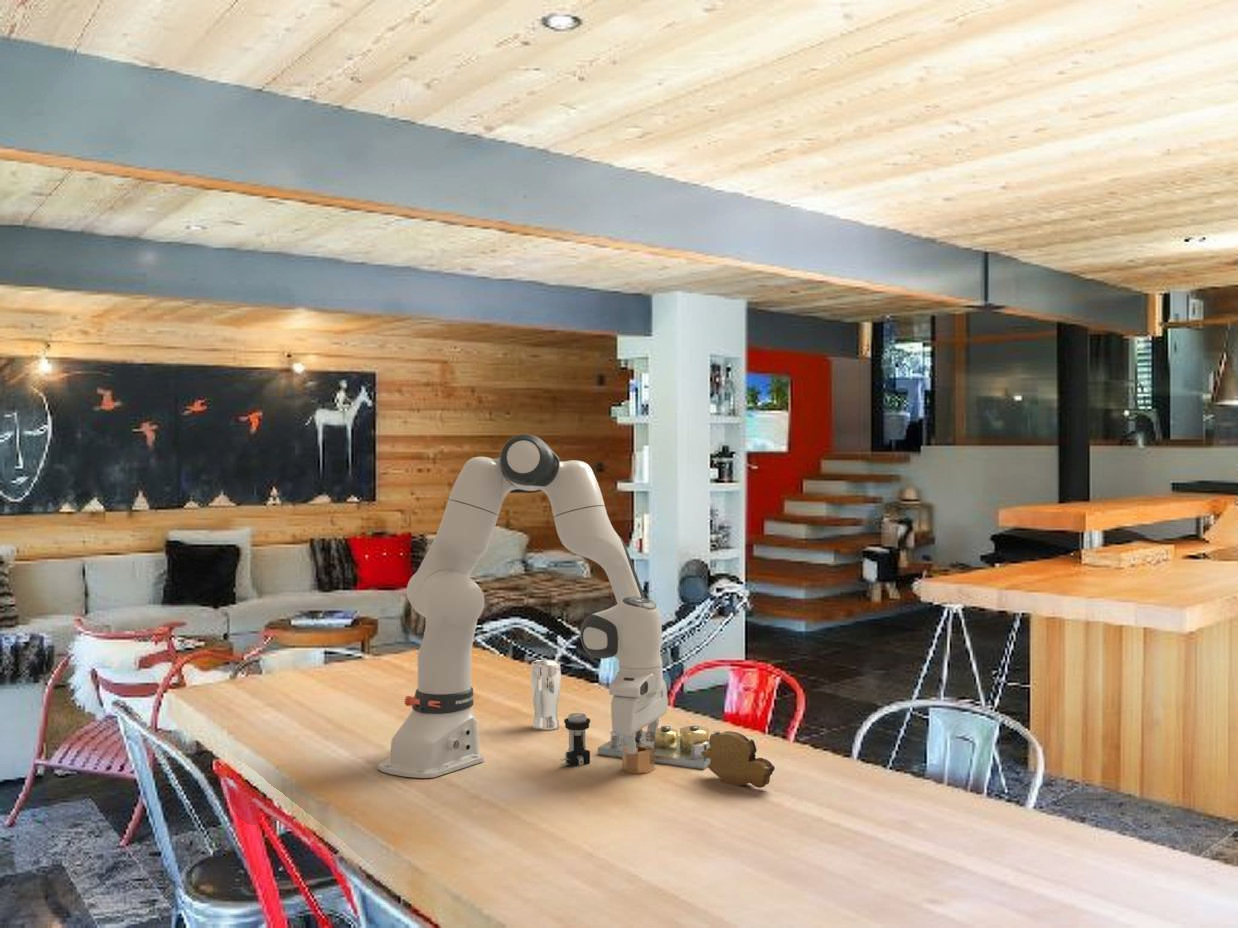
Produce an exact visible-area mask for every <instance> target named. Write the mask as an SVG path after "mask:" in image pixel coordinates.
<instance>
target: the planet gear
mask: <svg viewBox="0 0 1238 928" xmlns="http://www.w3.org/2000/svg"><path fill="white" fill-rule="evenodd" d="M621 760H622V762H621V763H622V767H621V768H622V770H623V771H624V772H625V773H630V774H635V775H637V774H638V775H639V774H647V773H649V774H650V773H652V772H653V771H654V770H655V769H656V768H655V767H656V765H655V749H653V748H652V747H651V746H645V745H638V752H637V753H635V754H628V753H627V747H625V748H623V749H622V758H621Z"/></svg>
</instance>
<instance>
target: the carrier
mask: <svg viewBox="0 0 1238 928" xmlns="http://www.w3.org/2000/svg"><path fill="white" fill-rule="evenodd" d="M646 732H647V731H646V730H645V731H644V730H643V728H642V729H641V730H639V731H637V732H636V737H635V741H636V744H638V745H645V746H651V747H652V748H653V749H655V763H656V764H663V765H671V766H676V767H685V768H690V769H697V770H706V769H707V768H708V765H709V764H710V758H707V757H704V756H703V755H702V753H701V752H702V751H704V750H706V749H708V748H710V744H709V739H710V736H709V734H710V732H709V728H707V727H704V726H697V725H687V726H683V727H680V728H679V735H678V729H676V728H672V727H671V726H670V725H663V726H660V727H658V728H657V732H656V740H655V741H653V742H648V741H646ZM717 732H719V733H721V731H720V730H713V734H715V733H717ZM625 747H627V745H626V743H625V740H624V736H620V735H615V733H614V731H613V729H611V731H610V740H609V741H607V742H605V743H604V744H602V745H600V746H597V755H599V756H606V757H614V758H619V759H620V758H621V759H622V749H623V748H625Z"/></svg>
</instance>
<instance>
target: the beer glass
mask: <svg viewBox="0 0 1238 928" xmlns="http://www.w3.org/2000/svg"><path fill="white" fill-rule="evenodd" d="M561 670H562V669H561V662H560V660H556V659H537V660H534V661H532V662H531V667H530V691H531V697H532V702H533V703H532V704H533V710H534V717H533V723H532V728H533V729H534V730H537V731H554V730H557V729H559V728H560V722H559V716H558V707H559V701H560V695H561V694H560V693H561V687H562V671H561Z"/></svg>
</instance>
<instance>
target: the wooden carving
mask: <svg viewBox="0 0 1238 928" xmlns="http://www.w3.org/2000/svg"><path fill="white" fill-rule="evenodd" d="M709 744H710V748H708V749H706V750H704V751H702V752H701V753H702V755H703V756H704V757H707V758H710V764H709V765H708V767H707V768H708V769H709V770H710V771H711V772H712V773H713V774H714V775H715V776H717V777H718V778H720V779H721V780H722V781H724V782H726V783H727V784H729V785H734V786H745V785H747V784H750V785H752V786H753V787H755V788H759V789H761V788H764V787H766V785H768V784H770V782H771V780H770V779H771V776H772V775H773V773H774V771H775V765H774V764H772V762H771V761H769V760H768V759H767V758H763V757H757V758H756V753H757V746H756V743H755V741H754V739H752V738H751V739H749V738H747V736H746V735H744V734H743V733H742V734H741V733H740V732H737V731H730V730H728V731H723V732H720V733H719V732H717V733H715V734H714V733H711V734H710V736H709Z"/></svg>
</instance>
